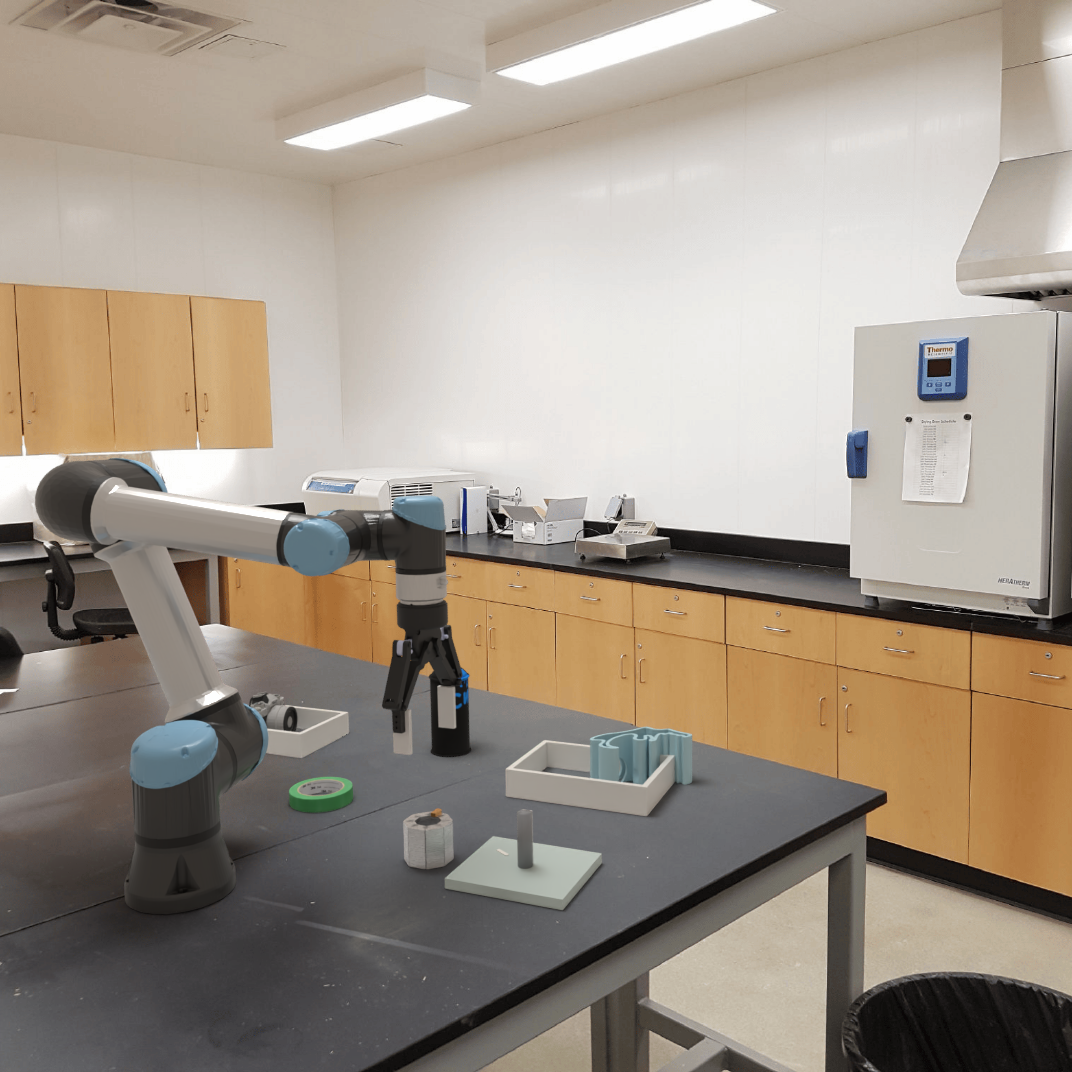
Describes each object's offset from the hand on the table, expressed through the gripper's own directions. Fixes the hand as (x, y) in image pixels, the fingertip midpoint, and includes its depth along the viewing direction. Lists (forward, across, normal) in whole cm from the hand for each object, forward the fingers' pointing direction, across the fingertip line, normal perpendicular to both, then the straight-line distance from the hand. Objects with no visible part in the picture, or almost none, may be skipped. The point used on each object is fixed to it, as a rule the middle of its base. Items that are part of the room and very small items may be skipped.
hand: (426, 740), depth 151 cm
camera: (+19, +41, +61) cm, 76 cm away
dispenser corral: (+19, +37, -13) cm, 43 cm away
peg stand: (+19, 0, -16) cm, 24 cm away
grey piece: (+18, 0, 0) cm, 19 cm away
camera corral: (+18, +41, +59) cm, 74 cm away
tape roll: (+19, +15, +30) cm, 39 cm away
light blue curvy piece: (+19, +42, -20) cm, 51 cm away
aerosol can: (+19, +47, +21) cm, 55 cm away
